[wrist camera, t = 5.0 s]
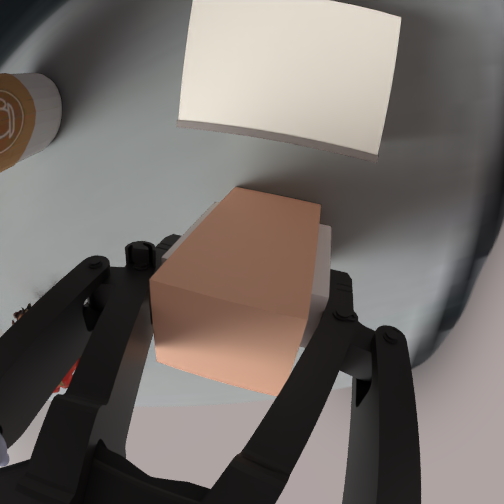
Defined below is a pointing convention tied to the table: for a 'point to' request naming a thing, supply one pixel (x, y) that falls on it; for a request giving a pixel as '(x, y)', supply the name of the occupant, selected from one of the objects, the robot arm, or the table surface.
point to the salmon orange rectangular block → (239, 291)
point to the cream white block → (290, 72)
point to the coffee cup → (27, 116)
